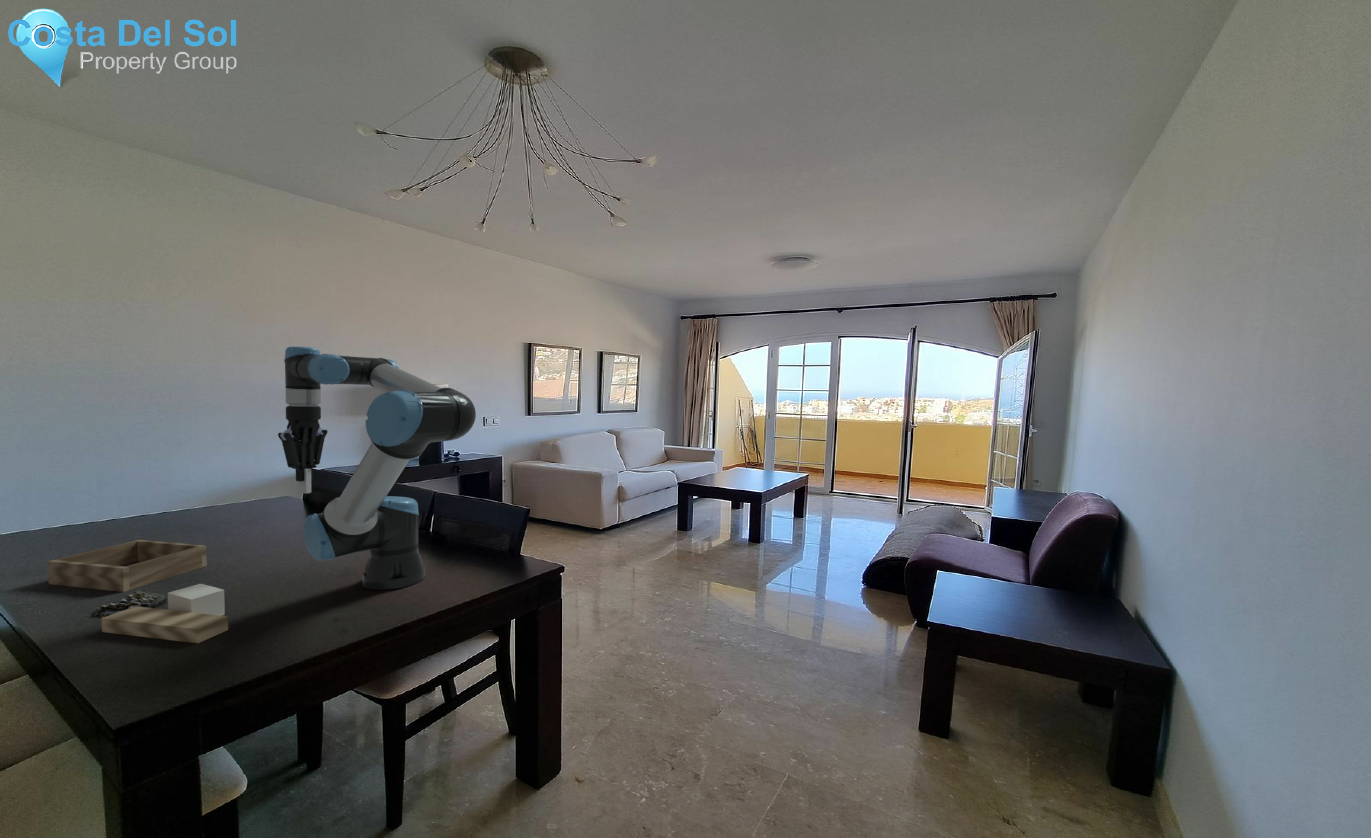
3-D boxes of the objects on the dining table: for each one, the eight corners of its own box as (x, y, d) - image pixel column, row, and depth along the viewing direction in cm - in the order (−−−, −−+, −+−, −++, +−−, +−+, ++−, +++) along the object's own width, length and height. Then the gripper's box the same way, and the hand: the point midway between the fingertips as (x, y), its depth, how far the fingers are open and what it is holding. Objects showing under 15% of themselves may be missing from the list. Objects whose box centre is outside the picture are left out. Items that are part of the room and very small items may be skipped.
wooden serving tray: (206, 565, 147) (206, 545, 147) (123, 591, 128) (122, 568, 127) (139, 559, 150) (138, 539, 150) (48, 584, 131) (47, 561, 131)
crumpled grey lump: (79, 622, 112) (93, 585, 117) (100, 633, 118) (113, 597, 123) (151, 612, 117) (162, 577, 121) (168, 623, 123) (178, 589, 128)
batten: (228, 629, 110) (227, 616, 110) (197, 643, 104) (197, 629, 104) (136, 619, 114) (135, 606, 113) (101, 631, 108) (101, 618, 108)
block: (224, 615, 117) (224, 589, 117) (192, 626, 112) (191, 599, 111) (201, 608, 120) (200, 583, 120) (168, 618, 115) (167, 592, 115)
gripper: (312, 404, 142) (313, 487, 144) (267, 405, 129) (269, 496, 131) (336, 405, 141) (336, 488, 143) (293, 406, 128) (294, 498, 130)
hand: (304, 492), depth 137 cm, fingers closed
